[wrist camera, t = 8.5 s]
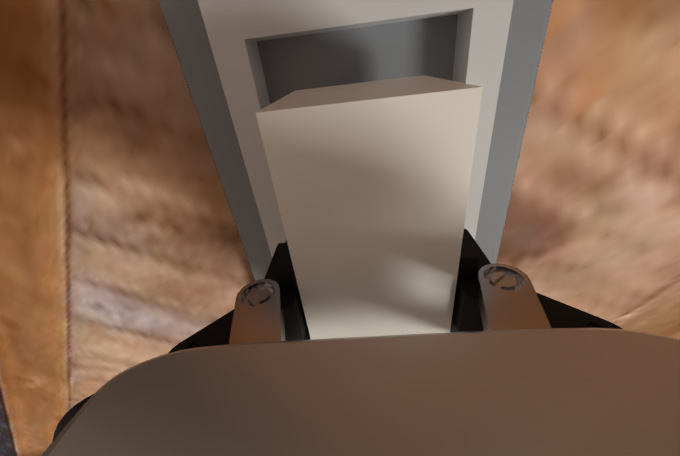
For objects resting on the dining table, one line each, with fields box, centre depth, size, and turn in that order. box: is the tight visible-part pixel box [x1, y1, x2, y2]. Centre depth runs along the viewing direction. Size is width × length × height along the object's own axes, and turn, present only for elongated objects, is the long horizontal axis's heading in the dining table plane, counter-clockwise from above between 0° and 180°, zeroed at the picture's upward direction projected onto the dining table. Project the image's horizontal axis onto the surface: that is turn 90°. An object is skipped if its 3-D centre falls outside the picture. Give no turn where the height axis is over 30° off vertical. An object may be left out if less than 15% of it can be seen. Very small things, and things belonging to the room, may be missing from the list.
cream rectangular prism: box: [256, 75, 483, 339], centre depth 11 cm, size 12×4×5 cm, turn 6°
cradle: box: [158, 0, 553, 339], centre depth 14 cm, size 21×14×2 cm, turn 6°
